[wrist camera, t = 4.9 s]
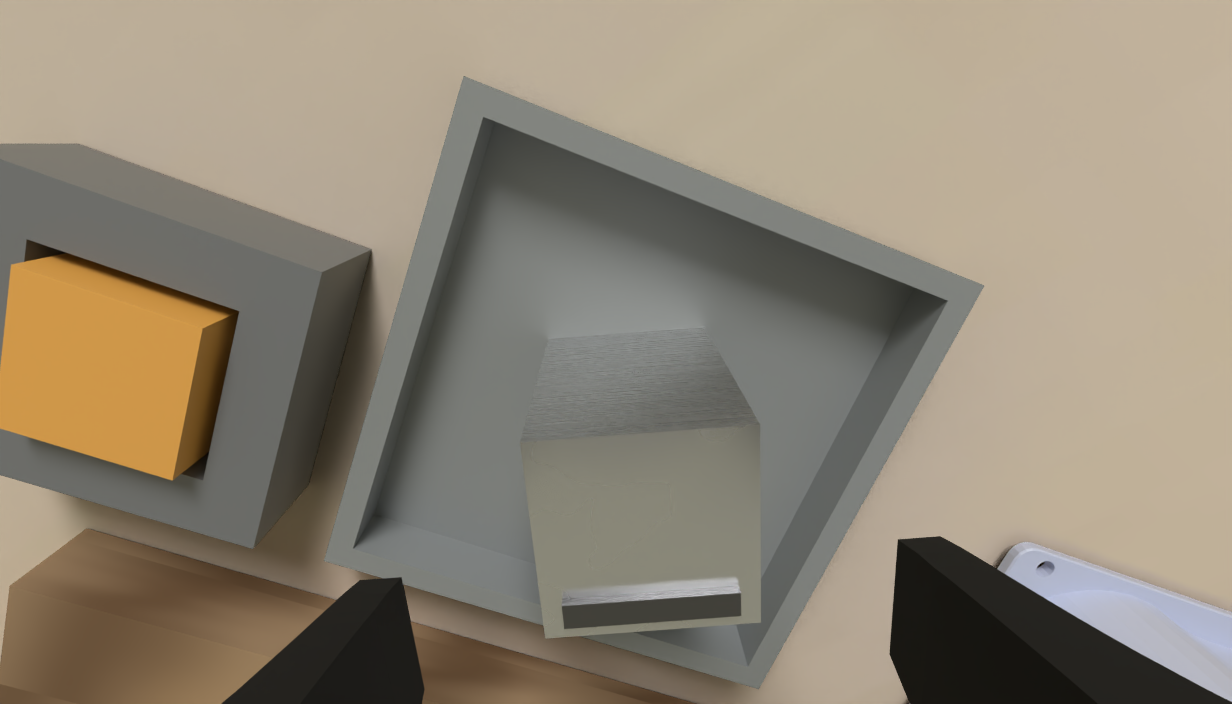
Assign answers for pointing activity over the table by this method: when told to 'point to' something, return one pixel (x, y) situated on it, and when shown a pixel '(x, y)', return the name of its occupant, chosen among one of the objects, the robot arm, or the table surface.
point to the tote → (626, 303)
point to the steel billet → (642, 486)
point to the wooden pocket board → (220, 637)
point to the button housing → (212, 270)
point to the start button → (112, 364)
